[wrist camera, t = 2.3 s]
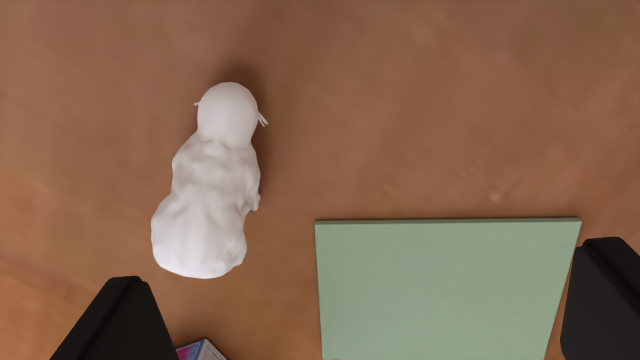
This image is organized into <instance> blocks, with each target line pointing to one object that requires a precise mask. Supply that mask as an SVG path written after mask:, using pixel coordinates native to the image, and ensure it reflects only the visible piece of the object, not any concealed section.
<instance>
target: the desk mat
mask: <svg viewBox="0 0 640 360" xmlns="http://www.w3.org/2000/svg"><path fill="white" fill-rule="evenodd" d="M581 224H582V221H581V220H580V219H579V218H505V219H423V220H341V221H315V242H316V258H317V275H318V292H319V308H320V325H321V342H322V358H323V359H342V360H543V359H544V355H545V352H546V348H547V345H548V341H549V338H550V334H551V331H552V327H553V323H554V320H555V316H556V313H557V309H558V306H559V302H560V298H561V295H562V291H563V288H564V284H565V281H566V277H567V274H568V270H569V266H570V263H571V259H572V256H573V252H574V249H575V245H576V241H577V238H578V234H579V231H580V227H581Z"/></svg>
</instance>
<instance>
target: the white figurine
mask: <svg viewBox="0 0 640 360" xmlns="http://www.w3.org/2000/svg"><path fill="white" fill-rule="evenodd" d="M198 103H200V104H198ZM198 103H195V104H198V105H199V107H198V113H197V121H198V130H197V131H196V132H195V133H194V134H193V135H192V136H191V137H190V138H189V139H188V140H187V141H186V142H185V144H183V145H182V147H181V148H180V149H179V150H178V151H177V153H176V155H175V156H174V158H173V160H172V169H173V179H172V187H171V189H172V191H171V194H169V195H168V196H167V197H166V198H165V199H164V200H163V201H162V202H161V203H160V204H159V206H158V209H157V211H156V212H155V214H154V215H153V217H152V220H151V229H152V233H151V241H152V243H153V255H154V258H155V260H156V261H157V263H158V264H159V265H160V266H161V267H162V268H164V269H167V270H169V271H171V272H173V273H177V274H179V275H182V276H186V277H194V278H201V279H208V278H215V277H220V276H222V275H224V274H226V273H227V272H228V271H230V270H231V269H232V268H233V267H234V266H236V265H240V264H241V263H242V261H243V259H244V257H245V254H246V252H247V245H246V241H245V235H244V233H243V228H244V220H245V216H246V214H247V213H248V212H249V211H250V210H251V209H252V210H253V211H256V210H257V209H258V202H259V200H260V195H259V193H258V187H259V181H260V176H261V175H260V170H259V167H258V162H257V157H256V152H255V150H254V148H253V147H252V144H251V137H252V135H253V133H254V131H255V128H256V125H257V123H258V122H257V121H258V120H259V121H260V122H261V123H262V121H261V119H262V120H263V121H264V122H265V123H267V122H266V120H265V119H264V118H263V116H262V115H261V114H260V113H259V112H258V107H257V103H256V101H255V99H254V97H253V96H252V94H251V93H250V91H249V90H248V89H247V88H245V87H243V86H242V85H240V84H238V83H234V82H227V83H220V84H218V85H215V86H213V87H211V88H210V89H209V90H208V91H207V92H206V93H205V94H204V95H203V97H202V99H201V101H200V102H198ZM195 104H193V105H195ZM196 106H197V105H196ZM259 117H260V118H261V119H260V118H259ZM267 124H268V123H267ZM262 125H263V126H264V124H263V123H262ZM264 127H265V126H264Z"/></svg>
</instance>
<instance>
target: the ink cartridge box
mask: <svg viewBox="0 0 640 360" xmlns="http://www.w3.org/2000/svg"><path fill="white" fill-rule="evenodd" d="M175 350H176V352H177V354H178V357H179V359H180V360H227V359H226V358H225V357H224V356H223V355H222V354H221V353H220V352H219V351H218V350H217V349H216V348H215V347H214V346H213V345H212V344H211V343H210V342H209V341H208V340H207V339H203V340H200V341H197V342H194V343H191V344H188V345H186V346H183V347H180V348H177V349H175Z"/></svg>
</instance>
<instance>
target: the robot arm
mask: <svg viewBox="0 0 640 360" xmlns="http://www.w3.org/2000/svg"><path fill="white" fill-rule="evenodd" d="M560 345H561V350H562V353H563V355H564V357H565V359H566V360H640V256H639V255H638V254H637V253H636V252H635V251H634V250H633V249H632V248H631V247H630V246H629V245H628V244H627V243H626V242H625V241H624V240H623V239H621V238H620V237H604V238H592V239H586V240H585V241H584V242H583V245H582V246H581V247H577V248H576V249H575V252H574V257H573V263H572V269H571V276H570V282H569V288H568V294H567V300H566V306H565V312H564V318H563V325H562V331H561V337H560ZM50 360H180V359H179V357H178V354H177V352H176V350H175V347H174V345H173V342H172V340H171V337H170V335H169V333H168V330H167V328H166V325H165V323H164V320H163V318H162V316H161V313H160V311H159V308H158V306H157V303H156V301H155V298H154V296H153V294H152V291H151V289H150V286H149V285H148V283H147V282H144V281H142V280H141V278H140V277H138V276H125V277H113V278H111V279H109V280H108V281H107V282H106V283H105V285H104V286H103V287H102V289H101V290H100V292H99V293H98V294H97V296H96V297H95V298H94V300H93V301H92V302H91V304H90V305H89V307H88V308H87V309H86V311H85V312H84V313H83V315H82V316H81V317H80V319H79V320H78V321H77V323H76V324H75V326H74V327H73V328H72V330H71V331H70V332H69V334H68V335H67V336H66V338H65V339H64V341H63V342H62V343H61V345H60V346H59V347H58V349H57V350H56V351H55V353H54V354H53V355H52V357H51V358H50Z"/></svg>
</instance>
